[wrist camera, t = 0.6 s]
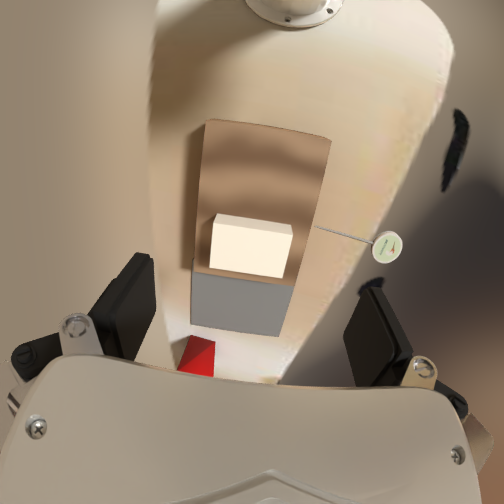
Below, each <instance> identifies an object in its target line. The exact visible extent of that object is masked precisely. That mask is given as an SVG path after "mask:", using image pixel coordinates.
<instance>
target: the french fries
mask: <svg viewBox="0 0 504 504" xmlns="http://www.w3.org/2000/svg"><path fill="white" fill-rule="evenodd" d="M214 356H215V342H214V341H211V340H207V339H203V338H200V337H196V336H193V335H191V336H190V339H189V341H188V344H187V346H186V349H185V351H184V354H183V356H182V359H181V361H180V364H179V366H178V369H177V371H180V372H186V373H191V374H197V375H202V376H208V377H213V375H214Z"/></svg>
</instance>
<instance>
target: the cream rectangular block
mask: <svg viewBox="0 0 504 504" xmlns="http://www.w3.org/2000/svg"><path fill="white" fill-rule="evenodd" d="M292 237H293V233H292V228H291V225H288V224H282V223H276V222H270V221H264V220H257V219H251V218H244V217H238V216H231V215H224V214H217V215H216V218H215V220H214V223H213V232H212V243H211V254H210V267H209V268H216V269H222V270H229V271H235V272H242V273H249V274H255V275H262V276H269V277H276V278H282V277H283V273H284V269H285V265H286V261H287V257H288V254H289V249H290V245H291V241H292Z"/></svg>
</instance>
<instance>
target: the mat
mask: <svg viewBox="0 0 504 504" xmlns="http://www.w3.org/2000/svg"><path fill="white" fill-rule="evenodd" d="M297 276H298V275H297ZM295 283H296V282H295ZM294 286H295V285H294ZM294 286H287V285H280V284H272V283H265V282H258V281H251V280H245V279H238V278H231V277H225V276H218V275H212V274H206V273H199V272H194V259H193V261H192V295H191V324H192V325H197V326H203V327H209V328H215V329H222V330H228V331H235V332H242V333H250V334H257V335H266V336H274V337H279V334H280V331H281V328H282V325H283V322H284V319H285V315H286V312H287V309H288V306H289V303H290V299H291V296H292V293H293V289H294Z"/></svg>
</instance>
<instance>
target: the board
mask: <svg viewBox="0 0 504 504" xmlns="http://www.w3.org/2000/svg"><path fill="white" fill-rule="evenodd" d="M331 142H332V141H331V140H329V139H327V138H325V137H321V136H317V135H313V134H308V133H303V132H298V131H293V130H288V129H283V128H277V127H271V126H265V125H259V124H252V123H245V122H238V121H229V120H220V119H209V120H206V124H205V133H204V141H203V150H202V160H201V170H200V181H199V192H198V205H197V219H196V235H195V254H194V272H199V273H206V274H212V275H218V276H225V277H231V278H238V279H245V280H251V281H258V282H265V283H272V284H280V285H287V286H294V285H295V282H296V279H297V275H298V272H299V268H300V265H301V261H302V258H303V254H304V251H305V247H306V243H307V240H308V236H309V232H310V229H311V225H312V221H313V217H314V213H315V209H316V205H317V201H318V197H319V193H320V189H321V185H322V181H323V177H324V173H325V168H326V164H327V160H328V155H329V151H330V146H331ZM217 214H224V215H231V216H238V217H244V218H251V219H257V220H264V221H270V222H276V223H282V224H288V225H291V228H292V233H293V237H292V241H291V245H290V249H289V254H288V257H287V261H286V265H285V269H284V273H283V277H282V278H276V277H269V276H262V275H255V274H249V273H242V272H235V271H229V270H222V269H216V268H209V267H210V254H211V243H212V232H213V223H214V220H215V218H216V215H217Z"/></svg>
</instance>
